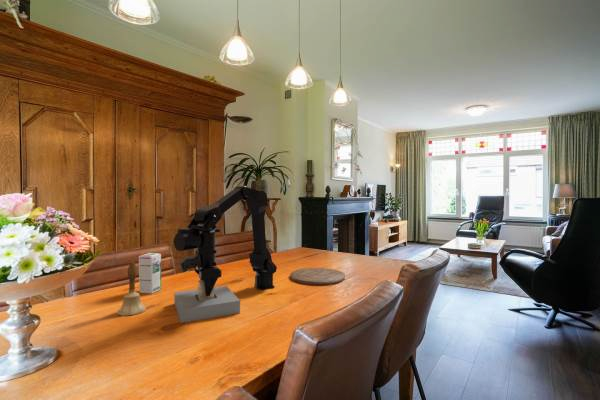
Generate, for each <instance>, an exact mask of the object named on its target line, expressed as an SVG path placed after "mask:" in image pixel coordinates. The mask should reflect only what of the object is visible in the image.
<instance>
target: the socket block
mask: <svg viewBox="0 0 600 400" xmlns="http://www.w3.org/2000/svg"><path fill="white" fill-rule="evenodd" d="M173 294H174V295H173V296H174V307H175V310H176V313H177V317H178V319H179V322H180V324H183V323H188V322H190V323H191V322H195V321H201V320H207V319H213V318H217V317H224V316H230V315H236V314H241V299H240V298H238V297H237V295H235V294H234V292H233V291H232V290H231V288H229V287H228V286H227V285H222V286H214V298H213V299H206V300H199V301H198V288H197V289H190V290H182V291H175V292H174V293H173Z"/></svg>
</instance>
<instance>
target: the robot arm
mask: <svg viewBox="0 0 600 400" xmlns="http://www.w3.org/2000/svg"><path fill="white" fill-rule="evenodd" d="M241 200H242V201H244V202H245V204H246V207H247V209H248V210H249V212H250V216H251V225H252V228H251V230H252V239H253V250H252V252H249V254H248V255H249V256H248V257H249V264H250V266H251V268H252V271H253V272H255V275H254V286H255V287H256V288H257V289H258V290H266V289H267V290H268V289H271V288H272V289H273V288H275V285H274V274H275V273H276V272H277V268H278V267H277V265H276V264H275V263H274V262H273V260H272V259H273V258H272V253H271V252H270V251H269V249H268V247H267V240H266V239H267V238H266V226H265V223H266V221H265V211H266V208H267V206H268V194H267V192H265V191H264V190H262V189H260V190H259V189H255V188H251V187H248V186H246V185H237V186H235V187H234V188H233V189H232V190H230V191H229V192H228V193H227V194H224V195H223V196H222V197H221V198H219V199H218V200H217V201H215V202H214V203H212V204H208V205H205V206H203V207H200V208H199V209H198V208H197V210H195V212H194V215H193V217H192V219H191V220H190V223H189V224H188V226H187V227H186V228H178V229H177V233H176V234H175V236H174V238H173V246H174V248H175V249H176V251H178V252H183V251H189V250H190V251H191V250H195V251H194V254H192V255H189V256H186V257H184V258H182V259H180V260H178V261H177V262H178V264H179V267H180V270H181V272H182V273H185V272H188V271H189V270H191V269H193V270H194V272H195V273H196V274H197V275H198V278H199V280H202V281H203V282H204V287H205V293H206V296H210V294H211V292H212V290H213V287H215V285H216V282H217V281H218V279H219V278H222V270H221V269H220V268H219V267H218V266H217V262H216V254H217V249H216V234H217V233H220V232H221V229H220V228H218V226H217V225H218V223H219V222H220V221H221V220H222V218H223V215H224V214H225V213H226V212H227V211H229V210H230V209H231V208H232V207H234V206H235V205H236V204H237V203H239V202H240V201H241Z"/></svg>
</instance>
